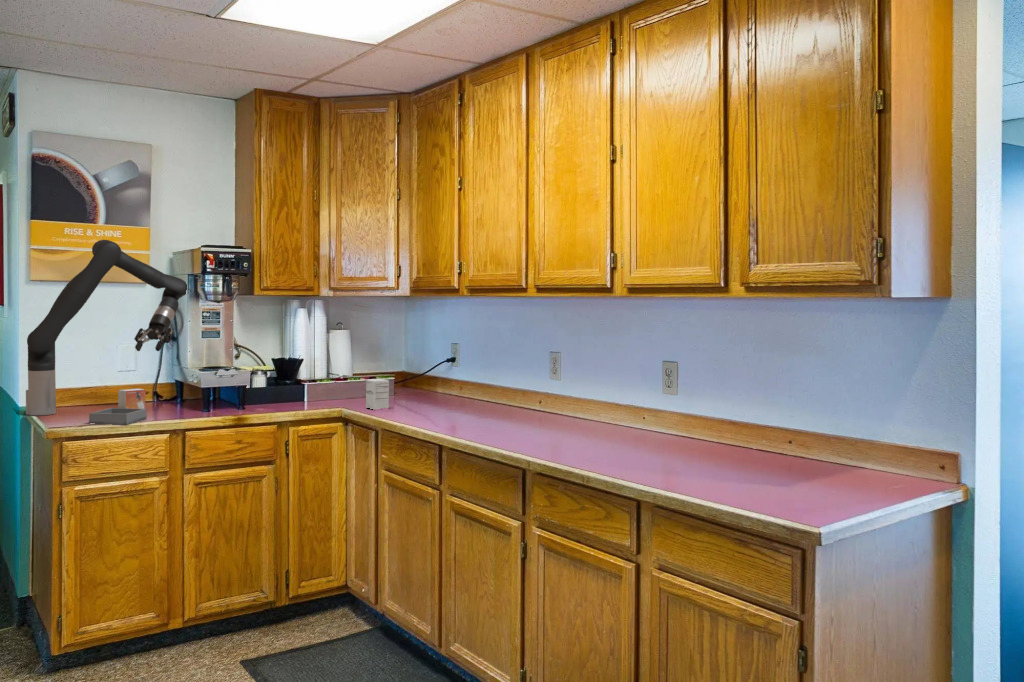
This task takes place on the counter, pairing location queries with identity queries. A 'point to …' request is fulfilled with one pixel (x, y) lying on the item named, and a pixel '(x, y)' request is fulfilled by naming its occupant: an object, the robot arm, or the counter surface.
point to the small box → (131, 398)
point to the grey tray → (117, 416)
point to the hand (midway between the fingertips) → (147, 349)
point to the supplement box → (377, 393)
